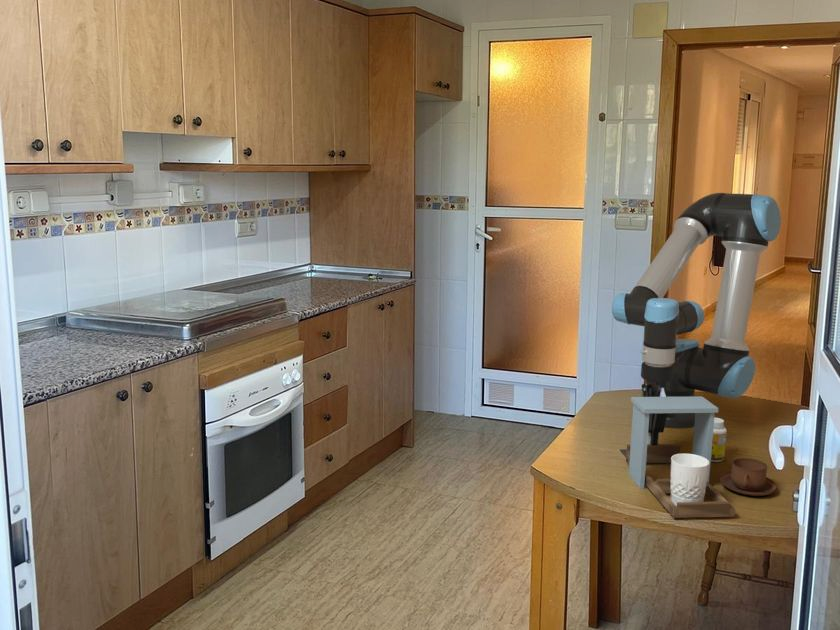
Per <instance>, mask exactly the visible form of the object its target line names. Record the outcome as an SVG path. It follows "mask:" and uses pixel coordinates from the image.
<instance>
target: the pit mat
mask: <svg viewBox="0 0 840 630" xmlns="http://www.w3.org/2000/svg"><path fill="white" fill-rule="evenodd" d="M619 451H620V452H621V453H622V454H623V456H624V457H625V458H626V452H627V448H622V449H621V448H620V449H619ZM659 465H660V466H662V465H663V466H664V465H665V466H667V465H668V466H669V465H670V466H671V463H646V466H659Z"/></svg>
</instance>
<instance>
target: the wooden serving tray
mask: <svg viewBox="0 0 840 630" xmlns="http://www.w3.org/2000/svg"><path fill="white" fill-rule="evenodd" d="M630 446H631V444H626V449H627V452H626V457H625V462H626V463H627V465H629V461H630ZM681 448H682V445H681V444H680V443H662V444H661V443H658V445H655V446H652V445H651V444H647V455H646V463H671V457H672V456H673V455H676V454H681V450H682V449H681ZM644 485H645V486H646V487H647V488H648V489H649V490H650V492H651V493H652V494H653V495H654V496H655V498H656V499H657V500H658V501H659V502H660V504H661V505H662V506H663V507H664V508H665V509H666V511H668V513H669V514H670V515H671V516H672V518H710V517H713V518H714V517H716V518H718V517H720V518H721V517H735V512H736V507H734V506H733V505H732V504H731V503H730V501H728V500H727V499H726V498H725V497H724V496H723V495H722V494H721V493H720V492H719V491H718V490H716V488H715V487H713V485H712V484H711V483H710V482H709V483H708V482H707V484H706V491H705V494H707V495H708V496H709V497H710V499H712V500H713V501H704V502H677V506H676V505H675V504H674V503H673V502H672V501H671V498H670V497H669V496H668V495H667V494H671V487H670V485H671V478H664V479H661V478H659V479H658V478H657V479H656V481H654V479H653V478H652V477H651V476H650V475H649V473H648V472H647V471H646V470H645V483H644Z"/></svg>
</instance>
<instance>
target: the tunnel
mask: <svg viewBox="0 0 840 630" xmlns="http://www.w3.org/2000/svg"><path fill="white" fill-rule="evenodd" d="M630 402H631V403H632V419H631V431H630V434H631V435H630V445H631V446H630V461H629V464H628V476H629V477H630V479H631V480H632V481H633V482H634V483H635V484H636V486H637V487H638V488H639V489H640V490H641V489H643V490H644V489H645V471H646V469H647V465H646V455H647V442H648V428H649V414H650V413H695V424H694V426H693V436H692V437H693V438H692V449H691V454H694V455H698V456H702V457H704V458H706V459H707V460H708V461H709V470H708V478H707V482H708V483H709V484H710V472H711V451H712V440H713V429H714V417H715V414H718V413H719V407H718V406H717V405H715V404H713V403H712V402H710V401H709V400H708V399H706V398H705V397H703V396H700V395H699V396H695V397H643V396H631V397H630ZM715 418H716V417H715Z"/></svg>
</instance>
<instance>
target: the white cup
mask: <svg viewBox="0 0 840 630" xmlns="http://www.w3.org/2000/svg"><path fill="white" fill-rule="evenodd" d="M708 470H709V461H708V460H707V459H706V458H704V457H702V456H698V455H694V454H692V453H680V454H676V455H673V456H672V457H671V465H670V479H671V485H670V487H671V493H670V500H671V501H672V502H673V503H674V504H675V505H676V507H677V502H705V501H704V500H705V495H706V492H705V491H706V484H707V478H708Z"/></svg>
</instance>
